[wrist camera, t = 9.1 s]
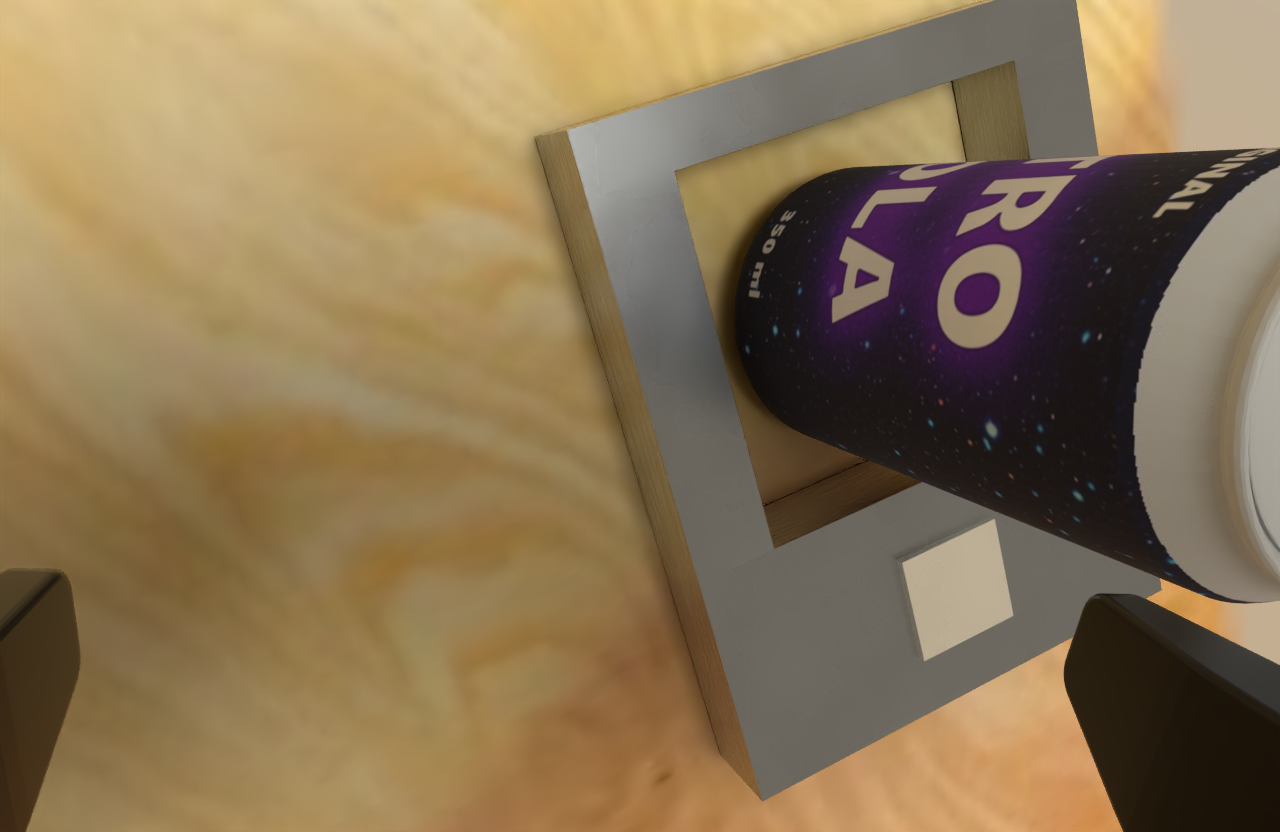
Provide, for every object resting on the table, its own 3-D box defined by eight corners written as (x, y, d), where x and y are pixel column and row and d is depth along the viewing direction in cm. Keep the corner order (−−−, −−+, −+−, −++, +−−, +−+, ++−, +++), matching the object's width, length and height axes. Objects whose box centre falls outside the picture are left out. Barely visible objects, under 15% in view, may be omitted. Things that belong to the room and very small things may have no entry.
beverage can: (969, 200, 24) (1622, 203, 13) (910, 448, 24) (1481, 655, 13) (746, 139, 21) (1304, 79, 10) (689, 414, 22) (1155, 628, 11)
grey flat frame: (1098, 563, 27) (1168, 592, 25) (720, 755, 24) (767, 806, 22) (1004, -6, 23) (1080, -26, 21) (534, 136, 20) (570, 129, 18)
